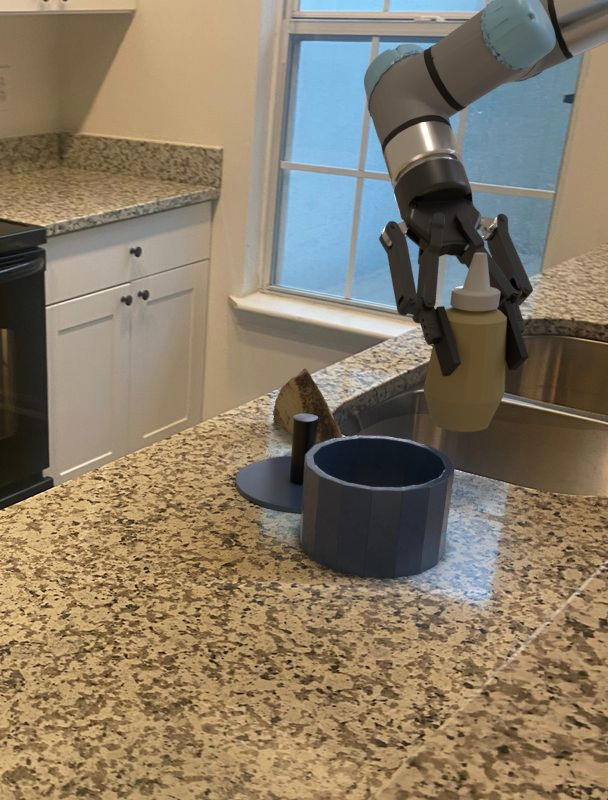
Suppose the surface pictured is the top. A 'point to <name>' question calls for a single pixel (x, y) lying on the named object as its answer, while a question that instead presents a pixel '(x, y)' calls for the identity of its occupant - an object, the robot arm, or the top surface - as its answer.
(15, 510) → the top surface
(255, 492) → the pot lid
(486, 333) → the squeeze bottle
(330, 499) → the pot
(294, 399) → the rock
